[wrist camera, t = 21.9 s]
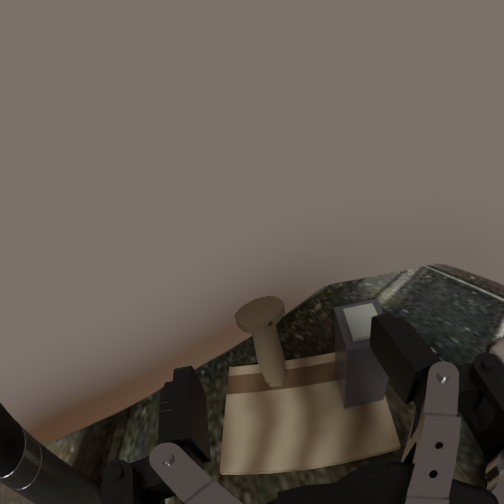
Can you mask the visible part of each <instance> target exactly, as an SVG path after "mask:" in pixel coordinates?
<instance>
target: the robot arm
mask: <svg viewBox="0 0 504 504" xmlns="http://www.w3.org/2000/svg"><path fill="white" fill-rule="evenodd" d="M370 347H371V350H372V352H373V354H374V355H375V357H376V358H377V360H378V361H379V363H380V365H381V366H382V368H383V369H384V371H385V373H386V374H387V376H388V377H389V379H390V380H391V382H392V384H393V385H394V387H395V388H396V390H397V392H398V393H399V395H400V397H401V398H402V400H403V402H404V403H405V404H407V403H409V402H411V401H413V402H414V403H415V409H414V414H413V419H412V424H411V429H410V433H409V438H408V442H407V445H406V448H405V450H404V453H403V456H402V459H401V461H392V462H385V461H384V459H383V458H381V459H379V460H376V461H374V462H372V463H369V464H367V465H364V466H362V467H359V468H357V469H356V470H354V471H353V472H351V473H350V474H348V475H347V476H345V477H343V478H342V479H340V480H338V481H337V482H335V483H330V484H319V485H304V486H301V487H297V488H293V489H289V490H284V491H280V492H277V493H278V497H277V498H275V499H273V500H271V501H269V502H268V503H266V504H504V366H503V364H502V363H501V362H500V361H499V359H498V358H497V357H496V356H495V355H493V354H491V353H481V354H479V355H477V357H476V358H475V360H474V362H473V363H471V364H466V365H462V366H454V365H453V364H451V363H449V362H445V361H441V360H440V359H439V358H438V357H437V356H436V354H435V353H434V352H433V351H432V350H431V348H430V347H429V346H428V345H427V343H426V342H425V341H424V340H423V339H422V338H421V336H420V335H419V334H418V333H417V332H416V330H415V329H414V328H413V327H412V326H411V324H410V323H408V322H406V321H404V320H402V319H401V318H400V319H398V320H395V318H394V317H393V316H392V315H391V314H390V313H389V312H384V313H381V314H379V315H376V316H373V317H372V319H371V330H370ZM457 410H459V411H460V413H461V415H462V416H463V418H464V420H465V421H466V423H467V425H468V427H469V428H470V430H471V432H472V434H473V435H474V437H475V439H476V441H477V443H478V444H479V446H480V448H481V450H482V452H483V454H484V456H485V458H486V459H487V461H488V463H489V464H488V465H487V468H486V477H485V479H486V481H487V489H484V488H481V487H477V486H474V485H471V484H467V483H464V482H461V481H458V480H455V479H452V478H453V473H454V468H455V463H456V457H457V450H458V443H459V435H460V426H461V417H460V416H458V415H457ZM159 411H160V413H159V428H158V444H157V446H156V447H155V448H154V449H153V450H152V452H151V454H150V455H149V456H148V457H146V458H143V459H141V460H138V461H135V462H132V463H127V462H126V461H124V460H119V459H117V460H113V461H111V462H109V463H108V464H107V465H106V466H105V468H104V470H103V475H102V491H101V489H100V488H99V487H98V485H97V484H95V483H94V482H93V481H91V480H90V479H88V478H87V477H85V476H84V475H82V474H81V473H79V472H78V471H76V470H75V469H74V468H72V467H71V466H69V465H68V464H67V463H65V462H64V461H63V460H61V459H60V458H59V457H57V456H56V455H55V454H53V453H52V452H51V451H50V450H48V449H47V448H46V447H45V446H44V445H42V444H41V443H40V442H39V441H37V440H36V439H35V438H34V437H33V436H32V435H31V434H29V433H28V432H27V431H26V430H25V429H24V428H23V427H21V425H20V424H19V423H18V422H17V421H15V420H14V419H13V418H12V416H11V415H10V414H9V413H8V412H7V411H6V409H5V408H4V407H3V405H2V404H1V403H0V482H1V483H3V484H4V485H6V486H7V487H9V488H10V489H12V490H13V491H15V492H17V493H18V494H20V495H21V496H23V497H25V498H26V499H28V500H30V501H32V502H33V503H35V504H165V499H167V498H169V497H172V496H175V495H177V496H178V497H179V498H180V499H181V500H182V502H183V504H243V503H241V502H240V501H239V500H238V499H236V498H235V497H234V496H233V495H231V494H230V493H229V492H228V491H227V490H225V489H224V488H223V487H222V486H221V485H220V484H218V483H217V482H216V481H215V480H214V479H212V478H211V477H210V476H209V475H208V474H207V473H206V472H205V471H204V462H211V456H210V445H209V433H208V421H207V407H206V396H205V392H204V389H203V386H202V384H201V382H200V380H199V379H198V377H197V375H196V373H195V371H194V369H193V367H192V366H187V367H182V368H177V369H174V374H173V381H171V382H166V383H165V385H164V387H163V389H162V391H161V395H160V410H159Z"/></svg>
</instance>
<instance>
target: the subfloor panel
mask: <svg viewBox="0 0 504 504" xmlns="http://www.w3.org/2000/svg"><path fill="white" fill-rule="evenodd" d="M285 365H286V380H284V382H283V385H282V386H280V387H279V386H276V387H270V386H269V384H268V383H266V381H265V379H264V377H263V375H262V373H261V370H260V368H259V364H256V365H247V366H237V367H229V376H228V387H227V397H226V408H225V418H224V429H223V440H222V452H221V463H220V473H221V474H222V475H245V474H266V473H279V472H290V471H299V470H307V469H314V468H320V467H326V466H332V465H337V464H343V463H348V462H352V461H357V460H361V459H365V458H369V457H373V456H377V455H381V454H385V453H388V452H392V451H395V450H398V449H399V448H400V442H399V439H398V435H397V432H396V429H395V425H394V422H393V419H392V416H391V412H390V409H389V406H388V403H387V400H386V397H385V395H384V399H383V400H380V401H376V402H372V403H368V404H364V405H359V406H355V407H350V408H345V409H344V406H343V401H342V397H341V392H340V388H339V383H338V379H337V374H336V370H335V352H334V353H329V354H324V355H318V356H312V357H306V358H300V359H293V360H287V361H285Z"/></svg>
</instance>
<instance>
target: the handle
mask: <svg viewBox="0 0 504 504" xmlns="http://www.w3.org/2000/svg"><path fill="white" fill-rule="evenodd" d="M284 313H285V311H284V304H283V302H282V301H281V300H280V299H279V298H277V297H274V296H267V297H262V298H258V299H255V300H253V301H251V302H249V303H248V304H246V305H244V306H243V307H241V308H240V310H238V312H237V313H236V314H235V319H236V322H237V325H238V326H239V328H240V329H241V330H242V331H244V332H247V333H252V336H253V341H254V345H255V351H256V356H257V361H258V364H259V368H260V370H261V373H262V375H263V377H264V379H265V381H266V383H268V384H269V386H270V387H276V386H279V387H280V386H282V385H283V382H284V380H286V365H285V358H284V353H283V350H282V346H281V343H280V340H279V336H278V332H277V329H276V324H277V323H278V322H279V321H280V319H281V318H282V317H283V315H284Z"/></svg>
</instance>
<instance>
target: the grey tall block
mask: <svg viewBox="0 0 504 504" xmlns="http://www.w3.org/2000/svg"><path fill="white" fill-rule="evenodd" d="M381 313H383V312H382V310H381V308H380V306H379V304H378V302H377V300H376V299H374V300H369V301H365V302H360V303H355V304H350V305H344V306H339V307H334V328H335V370H336V374H337V379H338V383H339V388H340V392H341V397H342V401H343V406H344V409H345V408H350V407H355V406H359V405H364V404H368V403H372V402H376V401H380V400H383V399H384V395H385V391H386V387H387V383H388V379H389V377H388V376H387V374H386V373H385V371H384V369H383V368H382V366H381V365H380V363H379V361H378V360H377V358H376V357H375V355H374V354H373V352H372V350H371V347H370V330H371V319H372V317H373V316H376V315H379V314H381Z"/></svg>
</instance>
